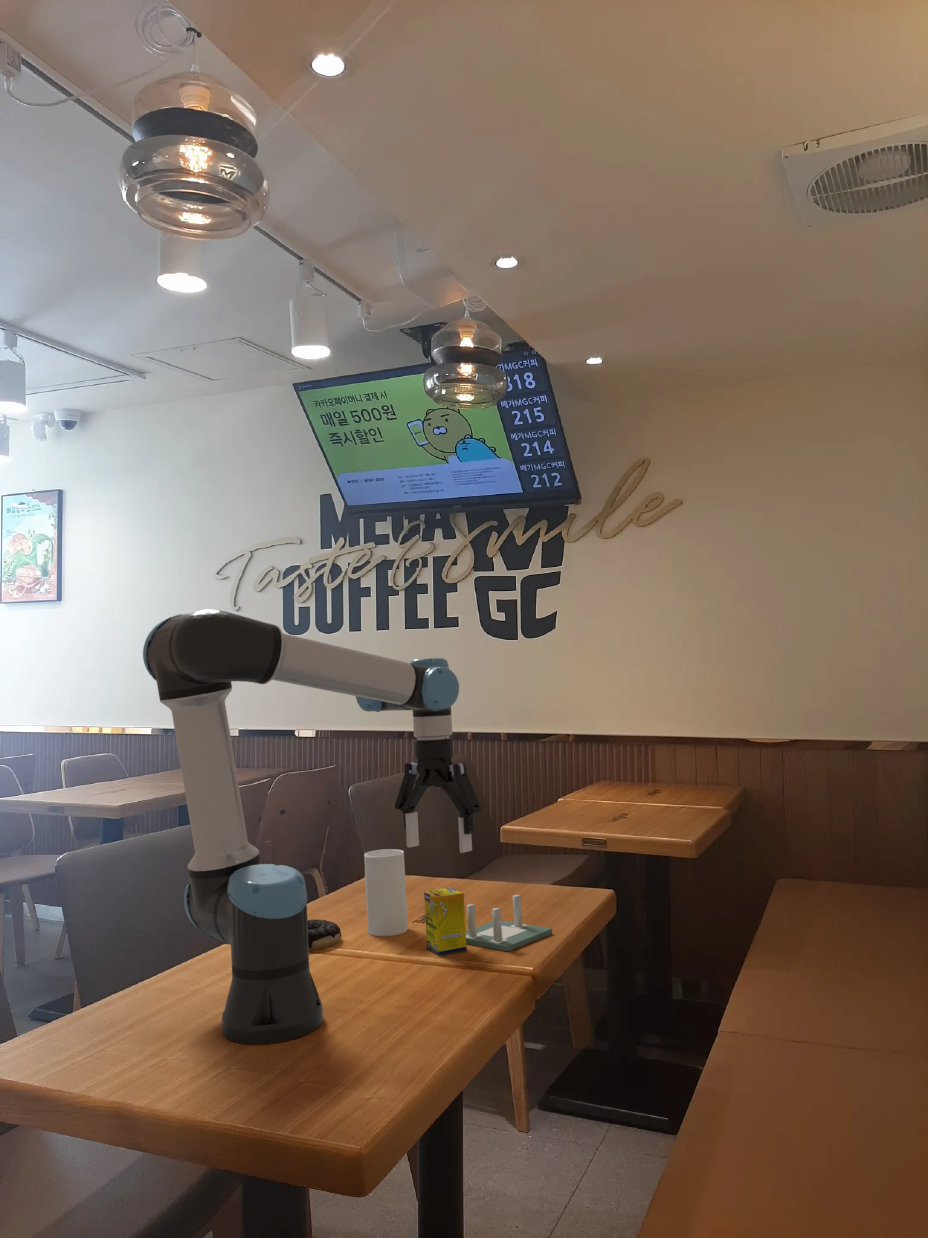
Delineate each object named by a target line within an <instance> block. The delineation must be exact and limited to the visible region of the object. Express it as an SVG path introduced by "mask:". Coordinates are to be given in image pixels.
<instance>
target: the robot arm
mask: <svg viewBox="0 0 928 1238" xmlns="http://www.w3.org/2000/svg"><path fill="white" fill-rule="evenodd" d="M142 659H143V663H144V664H143V665H144V667H145V669H146V671H147V672H148V674H149V675H150V676H151V678H153V680H155V681H156V686H157V692H158V696H159V701H160V703H161V704H162V705H164V706H166V707H167V708H168V709H170V710H169V711H171V716H172V722H173V728H174V729H173V730H174V733H175V739H176V741H175V742H176V747H177V752H178V758H179V764H180V769H181V775H182V776H181V777H182V780H183V781H182V782H183V788H184V793H185V800H186V801H185V802H186V806H187V812H188V818H189V824H190V830H191V837H192V841H193V848H194V855H193V857H192V858H191V859H190V861H189V862H188V864H187V872H188V878H189V881H188V883H187V884H186V887H185V890H184V894H183V895H184V896H183V897H184V898H183V904H184V909H185V913H186V915H187V918H188V920H189V921H190V922H191V923H192V924H193V926H194V927H195V928H197V929H198V930H199V931H200V932H201V933H202V934H203V935H206V936H208V937H210V938H212V939H216V940H219V941H222V942H224V943H226V944H228V945H230V956H231V981H230V987H229V990H228V994H227V998H226V1002H225V1006H224V1011H223V1013H222V1017H221V1030H222V1031H221V1032H222V1035H223V1037H224V1038H226V1039H228V1040H229V1041H233V1042H236V1043H241V1044H250V1045H251V1044H252V1045H253V1044H254V1045H259V1044H272V1043H279V1042H284V1041H289V1040H293V1039H297V1038H301V1037H303V1036H305V1035H307V1034H310V1033H312V1032H314V1031H315V1030H316V1029H318V1028H319V1027H320V1026H321V1025H322V1024H323V1021H324V1013H323V1012H324V1009H323V1003H322V1000H321V998H320V995H319V993H318V989H317V987H316V984H315V981H314V979H313V977H312V973H311V970H310V957H309V955H310V953H309V952H310V950H309V948H308V923H307V920H308V907H307V906H308V892H307V887H306V881H305V877H304V875H303V874H302V873H301V872H300V871H299V870H298V869H296V868H294V867H292V866H288V865H284V864H279V865H277V864H273V863H263V864H262V861H261V855H260V851H259V850H260V849H258V848H257V847H256V846H254V845H253V844H251V843H250V842H249V841H248V835H247V834H248V833H247V828H246V821H245V817H244V811H243V804H242V798H241V792H240V786H239V780H238V779H239V778H238V773H237V768H236V762H235V755H234V749H233V744H232V743H233V742H232V739H231V738H232V737H231V732H230V725H229V719H228V712H227V706H226V699H227V698H228V696H229V694H230V693H231V692H232V690H233V685H232V682H245V683H254V684H259V685H266V684H268V683H269V682H272V681H277V682H281V683H288V684H293V685H295V686H296V685H297V686H301V687H302V686H303V687H307V688H313V689H317V690H322V691H327V692H328V691H329V692H332V693H339V694H343V695H349V696H353V697H355V699H356V703H357V705H358V706H359V708H360V709H361V710H362V711H364V712H376V713H380V712H388V711H412V723H413V725H412V726H413V736H414V738H416V739H415V741H413V743H414V744H413V745H414V757H415V759H416V760H417V761H413V762H406V763H405V764H404V775H403V778H402V781H401V784H400V787H399V791H398V794H397V797H396V800H395V802H394V803H395V804H394V809H395V810H400V811H401V813H402V814H403V827H404V830H405V832H406V833H405V834H406V848H409V849H410V848H414V847H418V846H420V838H419V837H420V836H419V818H418V816H419V815H418V813H419V812H418V811H417V809H416V808H417V806H418V804H419V802H420V801H421V799H422V797H423V796H424V794H425V792H426V791H427V789H428V788H429V787H434V788H441V789H442V790H443V791H445V793H446V794H447V796H448V797H449V799H450V800H451V802H452V804H453V805H454V806H455V808H456V810H457V811H458V812H459V814H460V816H459V817H458V818H457V819H458V839H459V841H458V842H459V853H460V854H464V853H469V852H472V851H473V841H472V834H474V816H475V815H476V814H477V815H478V814H479V813H481V812H482V811H483V810H482V806H481V804H480V802H479V799H478V796H477V795H476V793H475V790H474V788H473V785H472V783H471V781H470V778H469V776H468V771H467V766H466V763H465V762H460V763H454V764H453V762H452V759H453V757H454V753H455V752H454V740H453V739H452V737H450V736H452V735H453V719H452V707H453V706H454V704H455V703H456V701H457V699H458V697H459V693H460V683H459V679H458V677H457V675H456V674H455V673H454V671H452V670H451V669H450V667H449V666H450V665H449V663H448V660H447V659H445V658H444V657H435V658H434V657H433V658H416V659H415V658H414V659H411V661H410V663H409V662H406V661H402V660H397V659H393V658H389V657H385V656H381V655H376V654H373V653H368V652H364V651H360V650H355V649H351V648H347V647H343V646H339V645H334V644H329V643H325V642H320V641H317V640H313V639H308V638H305V637H299V636H295V635H291V634H288V633H287V634H286V633H283V632H282V629H281V627H279V626H278V625H276V624H273V623H269V622H264V621H262V620H261V621H260V620H257V619H254V618H250V617H247V616H244V615H239V614H235V613H233V612H228V611H225V610H220V609H211V608H209V609H201V610H196V611H194V612H190V613H189V612H188V613H179V614H175V615H172V616H170V617H168V618H166V619H163V620H162V621H160V622H159V623H157V624H156V625H155V626H154V627H153V628H152V629H151V631H150V632H149V633H148V635H147V636H146V638H145V641H144V644H143V648H142ZM417 775H418V776H417Z"/></svg>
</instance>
